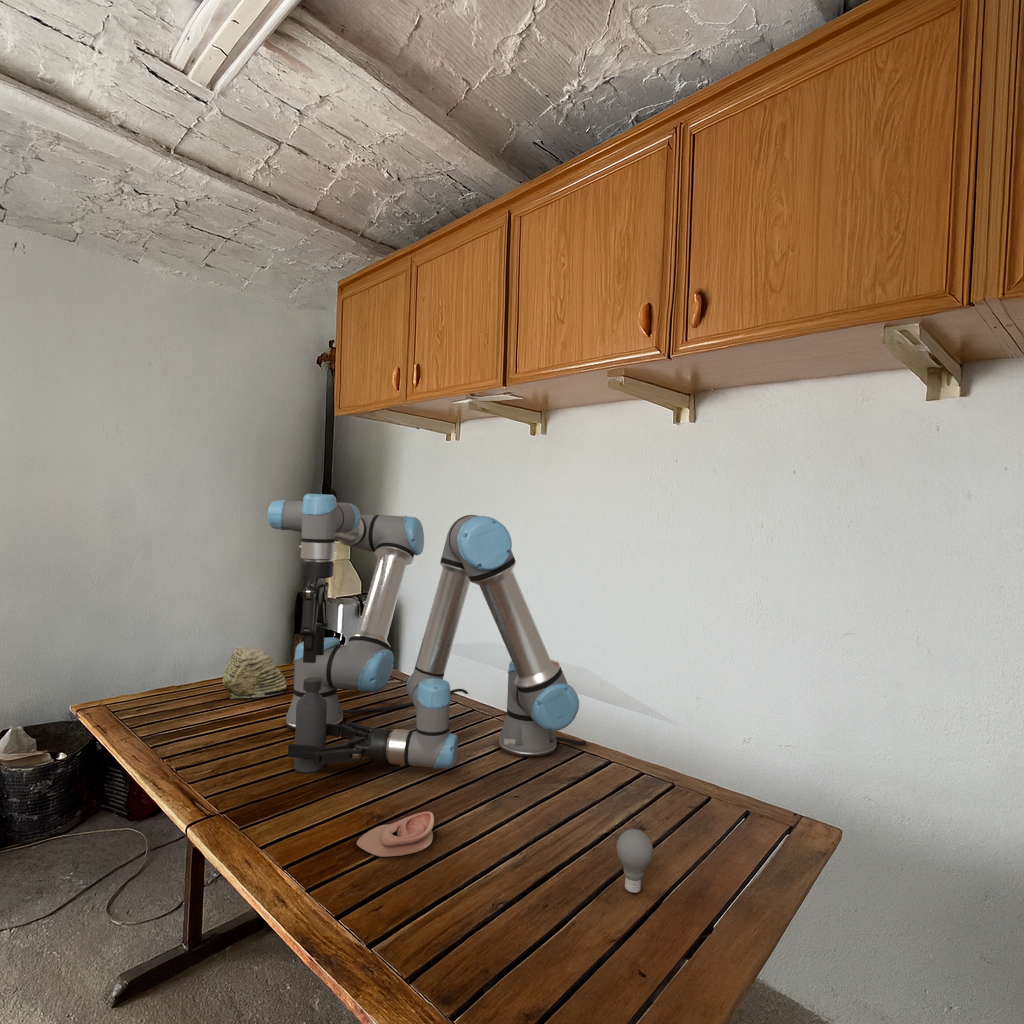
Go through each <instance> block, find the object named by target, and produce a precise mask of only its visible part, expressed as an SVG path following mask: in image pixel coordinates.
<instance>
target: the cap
mask: <svg viewBox="0 0 1024 1024" xmlns="http://www.w3.org/2000/svg"><path fill="white" fill-rule="evenodd" d="M321 686H322V679H321V678H318V677H310V678H306V679H304V684H303V690H305V691H318V690H320V689H321Z"/></svg>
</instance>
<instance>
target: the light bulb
mask: <svg viewBox="0 0 1024 1024" xmlns="http://www.w3.org/2000/svg"><path fill="white" fill-rule="evenodd" d="M615 849H616V854H617V857H618V859H619V861H620V863H621V865H622V867H623V873H624V874H623V875H624V876H625V878H624V888H625V890H627V891H628V892H630V893H634V894H635V893H639V892H640V891H641V889H642V887H641V886H642V879H643V877H644V875H645V871H646V868H647V867H648V866H649V864H650V863H651V861H652V859H653V855H654V847H653V843H652V841H651V838H649V836H648V835H647V834H646V833H645V832H643V831H642V830H641V829H636V828H629V829H627V830H625V831H623V832H622V833H621V834H620V835H619V837H618V839H617V841H616V847H615Z"/></svg>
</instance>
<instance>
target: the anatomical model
mask: <svg viewBox="0 0 1024 1024" xmlns="http://www.w3.org/2000/svg"><path fill="white" fill-rule="evenodd" d="M434 826H435V815H434V814H433V812H431V811H422V812H418V813H415V814H411V815H409V816H406V817H404V818H402V819H399V820H397V821H395V822H392V823H389V824H388V823H387V824H382V825H378V826H376V827H374V828H372V829H370V830H368V831H367V832H365V833H364V834H363V835H361V836H360V837H359V838H358V839H357V841H356V845H357V847H359V848H360V849H362V850H363V851H365V852H366V853H369V854H371V855H373V856H375V857H376V856H377V857H380V858H385V857H386V858H387V857H397V856H405V855H410V854H414V853H418V852H420V851H423V850H425V849H427V848H428V847H430V845H431V844H432V842H433V838H434V834H433V829H434Z"/></svg>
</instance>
